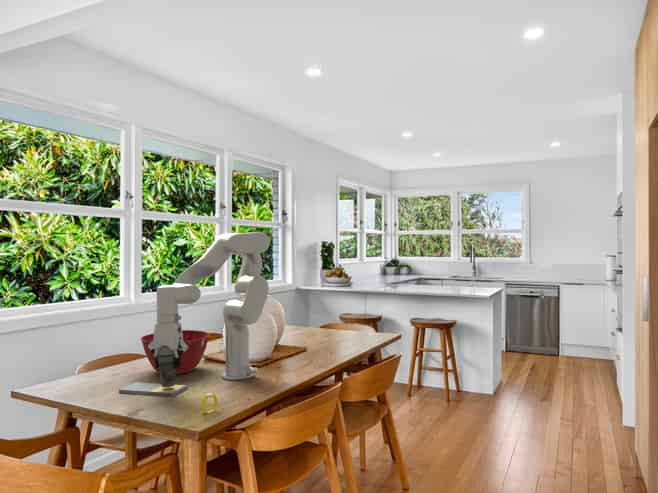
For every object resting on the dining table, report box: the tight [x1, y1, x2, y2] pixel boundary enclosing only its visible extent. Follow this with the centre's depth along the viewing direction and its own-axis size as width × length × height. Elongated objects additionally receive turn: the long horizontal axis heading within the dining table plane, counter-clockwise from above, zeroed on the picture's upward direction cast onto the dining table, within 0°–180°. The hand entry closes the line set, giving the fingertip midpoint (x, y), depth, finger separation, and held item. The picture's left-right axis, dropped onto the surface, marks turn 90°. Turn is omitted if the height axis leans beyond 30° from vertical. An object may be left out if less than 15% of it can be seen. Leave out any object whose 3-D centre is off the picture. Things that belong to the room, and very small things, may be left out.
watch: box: [201, 392, 219, 415], centre depth 158 cm, size 6×3×6 cm, turn 149°
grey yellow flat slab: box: [118, 382, 188, 397], centre depth 183 cm, size 22×10×1 cm, turn 77°
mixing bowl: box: [140, 329, 210, 376], centre depth 213 cm, size 28×28×16 cm
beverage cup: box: [157, 346, 176, 387], centre depth 181 cm, size 7×7×20 cm
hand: (168, 367), depth 182 cm, fingers closed on beverage cup, 6 cm apart
